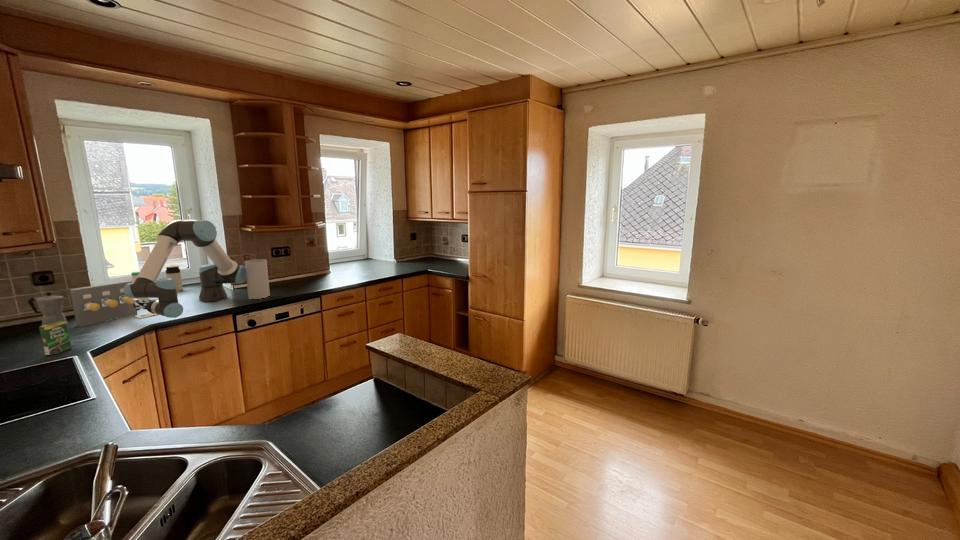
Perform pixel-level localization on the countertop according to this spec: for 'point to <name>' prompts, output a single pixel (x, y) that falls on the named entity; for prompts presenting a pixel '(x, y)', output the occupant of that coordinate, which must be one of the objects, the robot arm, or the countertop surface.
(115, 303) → the middle button
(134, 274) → the milk bottle
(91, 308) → the button
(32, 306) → the coffeepot
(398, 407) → the countertop surface
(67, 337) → the coffee box
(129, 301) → the button
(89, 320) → the button panel
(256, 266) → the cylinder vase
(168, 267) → the travel mug
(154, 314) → the card
